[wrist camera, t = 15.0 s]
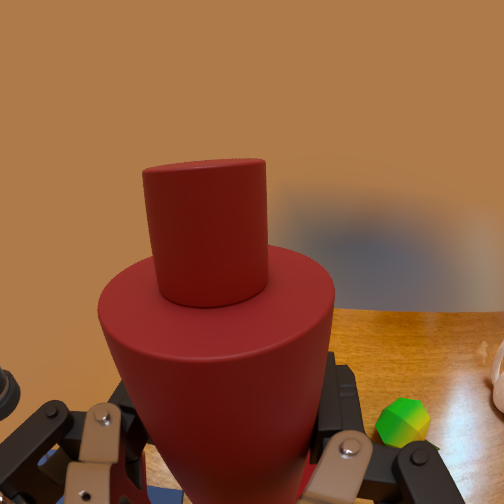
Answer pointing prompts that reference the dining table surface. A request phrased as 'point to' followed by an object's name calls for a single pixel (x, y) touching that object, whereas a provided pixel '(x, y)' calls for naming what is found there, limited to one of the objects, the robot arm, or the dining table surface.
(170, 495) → the blue mat
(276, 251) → the red bottle
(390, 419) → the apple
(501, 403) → the cat figurine
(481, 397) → the dining table surface
